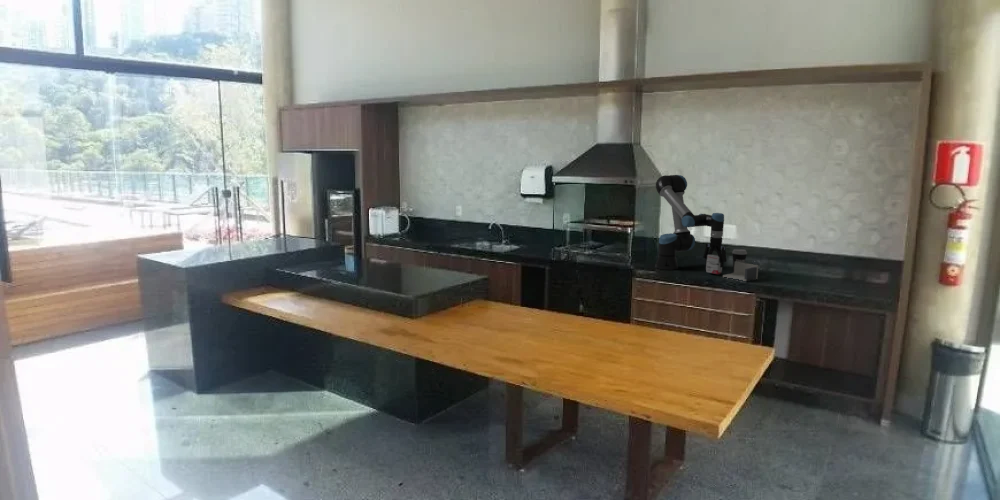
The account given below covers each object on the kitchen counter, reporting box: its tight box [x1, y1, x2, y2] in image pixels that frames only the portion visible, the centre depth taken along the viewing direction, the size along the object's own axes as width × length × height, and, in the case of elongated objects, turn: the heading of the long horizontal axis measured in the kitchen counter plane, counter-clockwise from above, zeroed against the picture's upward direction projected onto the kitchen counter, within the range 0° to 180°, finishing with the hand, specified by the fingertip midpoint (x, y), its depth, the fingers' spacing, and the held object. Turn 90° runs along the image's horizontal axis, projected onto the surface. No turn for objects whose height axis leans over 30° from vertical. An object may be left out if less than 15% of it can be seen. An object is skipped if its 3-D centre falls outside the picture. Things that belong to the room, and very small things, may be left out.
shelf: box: [722, 261, 759, 282], centre depth 371 cm, size 16×13×9 cm
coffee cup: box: [731, 248, 748, 273], centre depth 388 cm, size 10×10×15 cm
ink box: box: [705, 253, 722, 275], centre depth 382 cm, size 8×5×12 cm, turn 39°
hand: (713, 270), depth 383 cm, fingers closed on ink box, 9 cm apart
